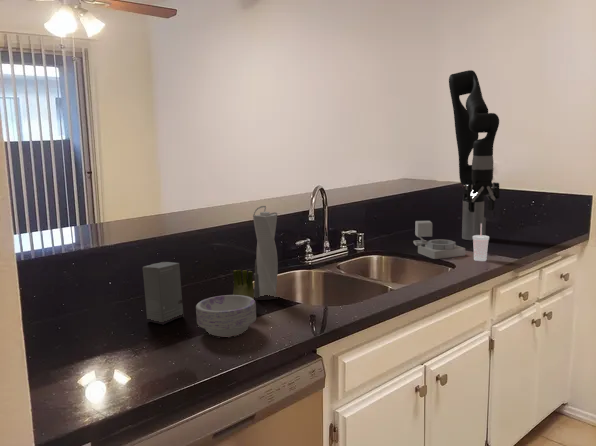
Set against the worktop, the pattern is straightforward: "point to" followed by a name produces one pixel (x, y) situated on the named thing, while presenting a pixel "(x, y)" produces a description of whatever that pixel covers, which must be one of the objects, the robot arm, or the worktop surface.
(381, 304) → the worktop surface
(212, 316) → the paper bowls
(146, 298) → the skincare box
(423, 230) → the security camera
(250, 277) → the fennel bulb
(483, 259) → the beverage cup
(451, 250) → the mount block
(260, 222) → the skyscraper
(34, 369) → the worktop surface
